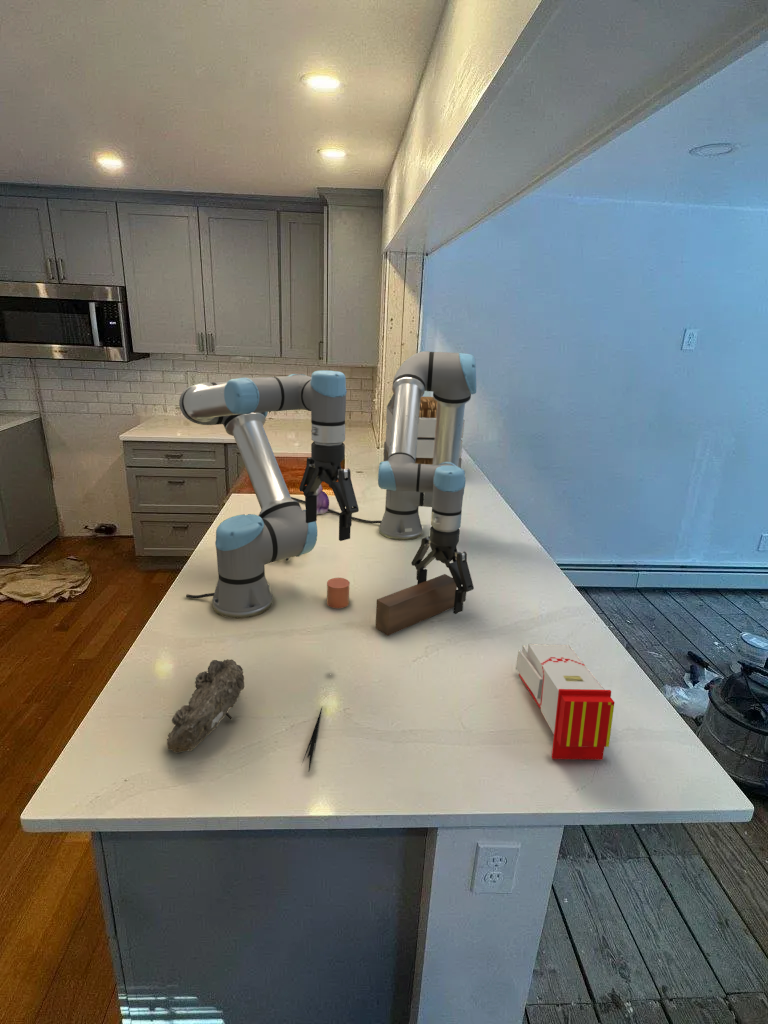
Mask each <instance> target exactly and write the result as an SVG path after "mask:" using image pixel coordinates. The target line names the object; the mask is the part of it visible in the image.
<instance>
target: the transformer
mask: <svg viewBox="0 0 768 1024" xmlns="http://www.w3.org/2000/svg"><path fill="white" fill-rule="evenodd" d="M394 400H395V395H394V393H393V394H392V395H391V398H390V400H389V402H388V404H387V405H386V413H385V414H386V415H385V423H386V428H385V438H384V442H383V461H388V453H389V444H390V436H391V427H392V418H393V409H394ZM436 414H437V401H436V400H435V399H434V398H433V396H422V397H421V400H420V412H419V424H418V436H417V447H416V459H415V463H417V464H431V465H433V452H434V440H435V427H436ZM464 429H465V419H464V418H463V427H462V436H461V446H460V455H459V464H458V467H460V468H461V469H462V461H463V460H462V453H463V442H464V441H463V440H462V439H463V438H464V431H465V430H464Z"/></svg>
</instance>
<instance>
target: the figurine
mask: <svg viewBox="0 0 768 1024" xmlns="http://www.w3.org/2000/svg"><path fill="white" fill-rule="evenodd" d="M316 493H317V494H313V495H316V496H317V515H323V514H326V513H329V512H328V509H330V497H329V496H328V494H327V493H326V492H325V491H323V485H322V483H321V484H320V486H319V487H318V489H317V491H316Z"/></svg>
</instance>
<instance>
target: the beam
mask: <svg viewBox="0 0 768 1024" xmlns="http://www.w3.org/2000/svg"><path fill="white" fill-rule="evenodd" d="M457 589H458V588H457V586H456V584H455V582H454V579H453V577H452V576H450V575H448V574H446V573H443V574H441V575H438V576H436V577H433V578H430V579H426V581H425V582H422V583H419V584H417V583H416V584H414V585H411V586H409V587H405V588H403V589H401V590H399V591H396V592H392V593H391V594H387V595H385V596H382V597H379V598H377V599H376V607H375V608H376V609H375V610H376V612H375V629H376V630H378V631H379V632H381V633H382V634H384V635H385V636H387V637H388V636H391V635H393V634H396V633H398V632H400V631H403V630H405V629H407V628H410V627H412V626H414V625H416V624H419V623H421V622H423V621H426V620H428V619H430V618H432V617H435V616H437V615H439V614H442V613H444V612H446V611H449V610H450V609H454V600H455V590H457Z"/></svg>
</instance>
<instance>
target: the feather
mask: <svg viewBox="0 0 768 1024" xmlns="http://www.w3.org/2000/svg"><path fill="white" fill-rule="evenodd" d="M329 675H330V676H331V675H332V674H331V673H330V674H329ZM322 710H323V707H321V708H320V710H319V713H318V716H317V719H316V723H315V725H314V728H313V731H312V733H311V737H310V739H309V742H308V745H307V748H306V751H305V754H304V757H303V760H302V763H301V767H302V765H303V763H304V761H305V758H308V759H309V760H308V762H307V763H308V764H307V766H308V771H310V770H311V766H312V765H311V764H312V760H313V757H315V756H314V755H315V751H316V749H315V746H317V739H318V733H319V729H320V722H321V717H322V712H323V711H322ZM313 754H314V755H313ZM306 755H307V757H306Z"/></svg>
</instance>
